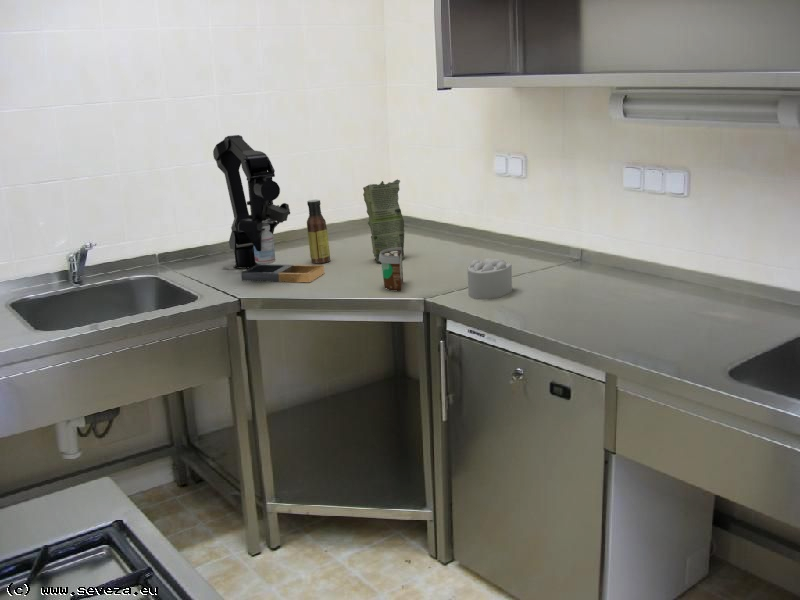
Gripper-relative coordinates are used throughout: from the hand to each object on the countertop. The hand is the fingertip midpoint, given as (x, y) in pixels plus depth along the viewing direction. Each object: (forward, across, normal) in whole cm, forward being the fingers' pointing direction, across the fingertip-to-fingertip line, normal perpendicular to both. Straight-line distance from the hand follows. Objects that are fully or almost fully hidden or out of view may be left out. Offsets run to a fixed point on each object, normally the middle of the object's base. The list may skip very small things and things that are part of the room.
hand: (264, 248), depth 252 cm
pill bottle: (+4, 0, 0) cm, 4 cm away
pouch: (+9, +25, -30) cm, 40 cm away
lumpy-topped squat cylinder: (+9, -10, -70) cm, 71 cm away
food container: (+9, -7, -42) cm, 43 cm away
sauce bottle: (+9, +20, -9) cm, 24 cm away
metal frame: (+9, 0, -5) cm, 10 cm away
